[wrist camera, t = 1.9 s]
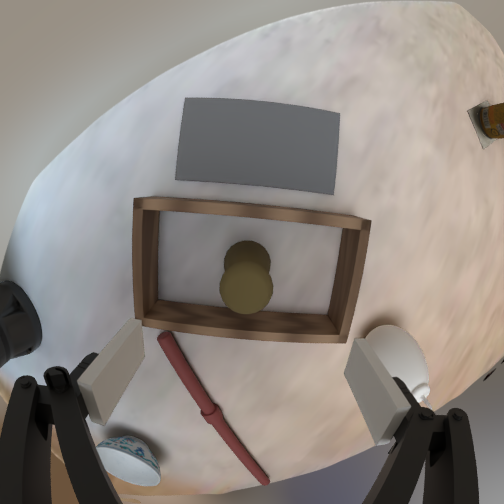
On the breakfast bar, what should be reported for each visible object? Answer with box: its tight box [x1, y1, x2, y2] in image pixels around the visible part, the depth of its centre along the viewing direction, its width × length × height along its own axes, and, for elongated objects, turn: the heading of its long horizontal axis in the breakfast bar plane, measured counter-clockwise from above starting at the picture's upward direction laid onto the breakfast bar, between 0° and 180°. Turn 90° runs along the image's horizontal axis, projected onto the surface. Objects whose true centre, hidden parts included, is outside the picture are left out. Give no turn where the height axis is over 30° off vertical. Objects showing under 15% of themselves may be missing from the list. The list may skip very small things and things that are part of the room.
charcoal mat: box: [175, 98, 340, 195], centre depth 32 cm, size 20×11×1 cm, turn 85°
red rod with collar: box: [157, 332, 270, 485], centre depth 41 cm, size 45×3×3 cm, turn 21°
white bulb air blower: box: [365, 325, 432, 410], centre depth 30 cm, size 8×8×18 cm
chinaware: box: [96, 435, 161, 486], centre depth 41 cm, size 15×15×8 cm
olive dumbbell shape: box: [219, 241, 273, 314], centre depth 30 cm, size 6×6×11 cm
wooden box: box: [132, 197, 371, 343], centre depth 33 cm, size 26×15×6 cm, turn 85°
